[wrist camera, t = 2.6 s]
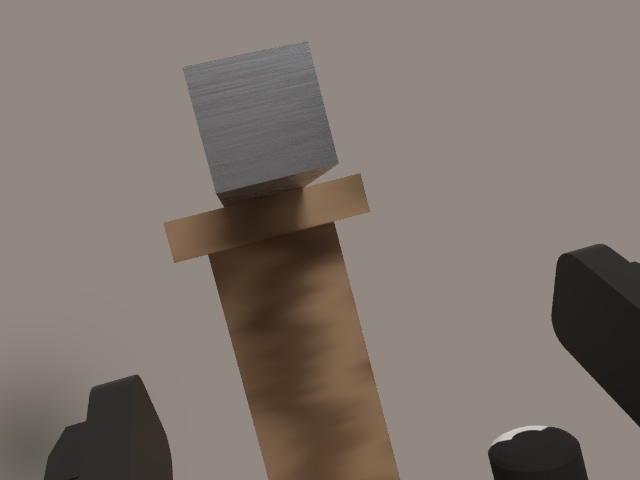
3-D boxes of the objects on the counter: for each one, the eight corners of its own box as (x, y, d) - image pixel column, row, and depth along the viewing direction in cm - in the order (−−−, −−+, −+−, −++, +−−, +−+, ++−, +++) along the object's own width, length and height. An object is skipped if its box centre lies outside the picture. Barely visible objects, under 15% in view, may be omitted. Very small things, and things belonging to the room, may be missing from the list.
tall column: (443, 601, 42) (337, 187, 40) (524, 748, 30) (379, 168, 28) (289, 658, 40) (172, 229, 39) (310, 837, 28) (142, 228, 27)
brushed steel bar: (281, 202, 42) (268, 150, 41) (338, 163, 18) (307, 40, 18) (229, 215, 41) (215, 162, 41) (216, 193, 17) (182, 67, 17)
